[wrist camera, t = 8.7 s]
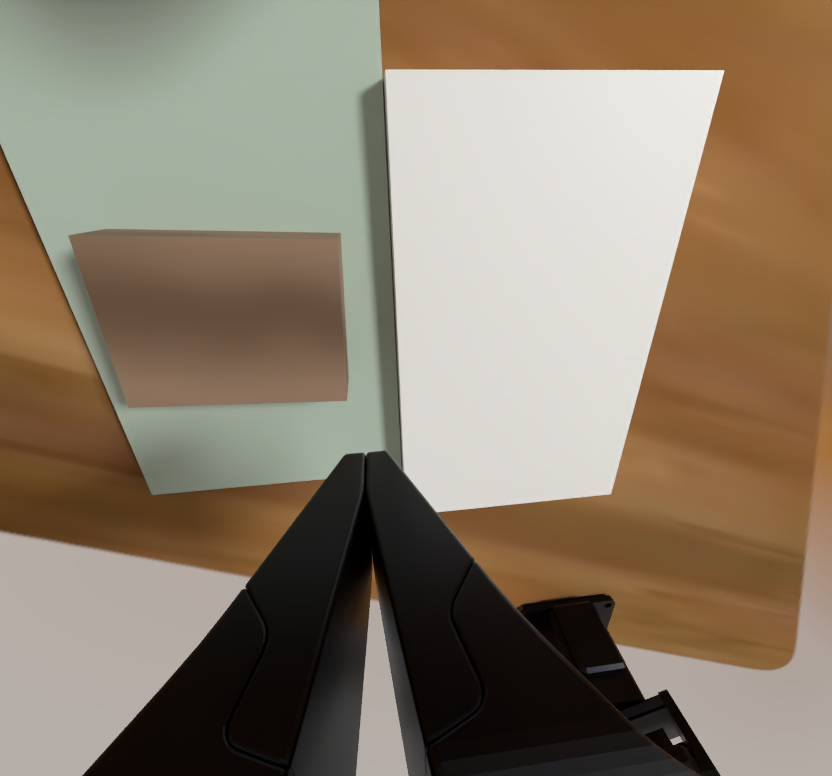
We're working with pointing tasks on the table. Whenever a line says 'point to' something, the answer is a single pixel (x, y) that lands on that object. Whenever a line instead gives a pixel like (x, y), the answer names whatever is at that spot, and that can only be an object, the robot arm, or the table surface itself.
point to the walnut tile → (219, 314)
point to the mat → (214, 189)
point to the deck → (531, 267)
